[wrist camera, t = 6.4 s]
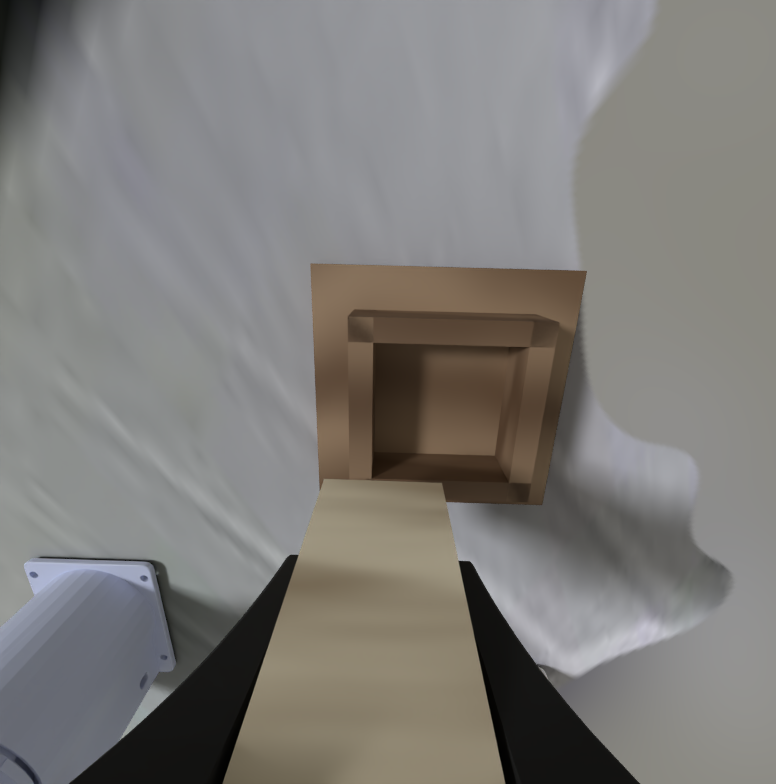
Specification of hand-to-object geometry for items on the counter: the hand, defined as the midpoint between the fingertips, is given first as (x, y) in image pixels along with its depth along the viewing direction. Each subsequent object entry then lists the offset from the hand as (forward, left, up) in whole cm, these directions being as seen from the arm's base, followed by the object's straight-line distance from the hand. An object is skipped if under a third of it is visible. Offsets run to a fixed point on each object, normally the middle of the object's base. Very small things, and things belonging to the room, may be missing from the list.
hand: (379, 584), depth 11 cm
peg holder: (+3, -2, -10) cm, 11 cm away
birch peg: (0, 0, -2) cm, 2 cm away
